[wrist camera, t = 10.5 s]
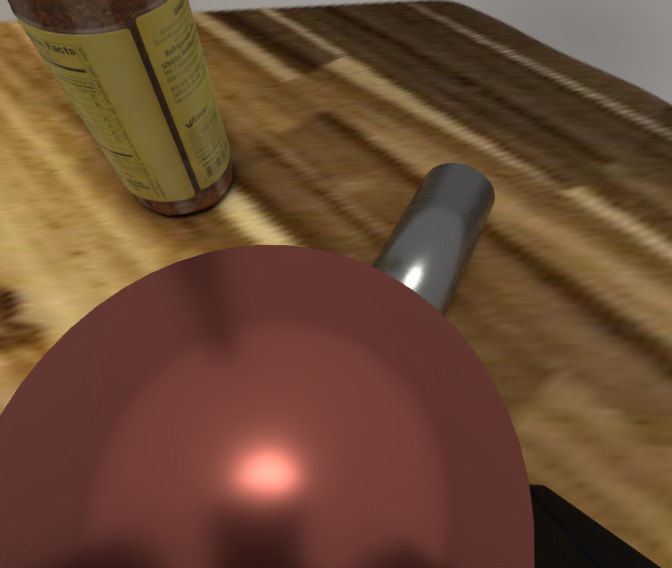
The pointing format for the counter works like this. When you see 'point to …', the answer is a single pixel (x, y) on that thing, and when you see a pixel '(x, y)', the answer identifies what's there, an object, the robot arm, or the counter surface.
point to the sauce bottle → (139, 93)
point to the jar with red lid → (262, 428)
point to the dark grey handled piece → (438, 232)
